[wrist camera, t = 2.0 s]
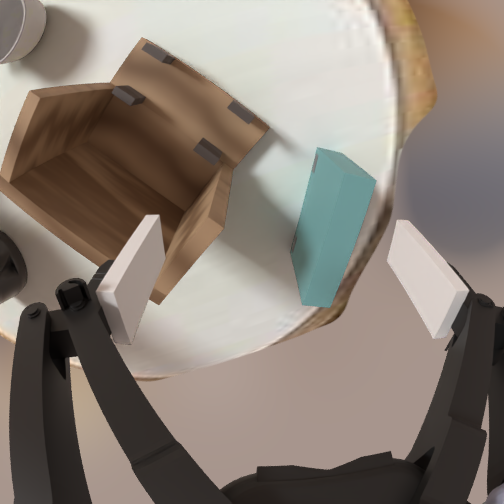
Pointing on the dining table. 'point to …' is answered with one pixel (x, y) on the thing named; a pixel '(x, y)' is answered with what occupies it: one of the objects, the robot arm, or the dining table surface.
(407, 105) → the dining table surface
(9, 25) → the teacup
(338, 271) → the door
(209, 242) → the cabinet
